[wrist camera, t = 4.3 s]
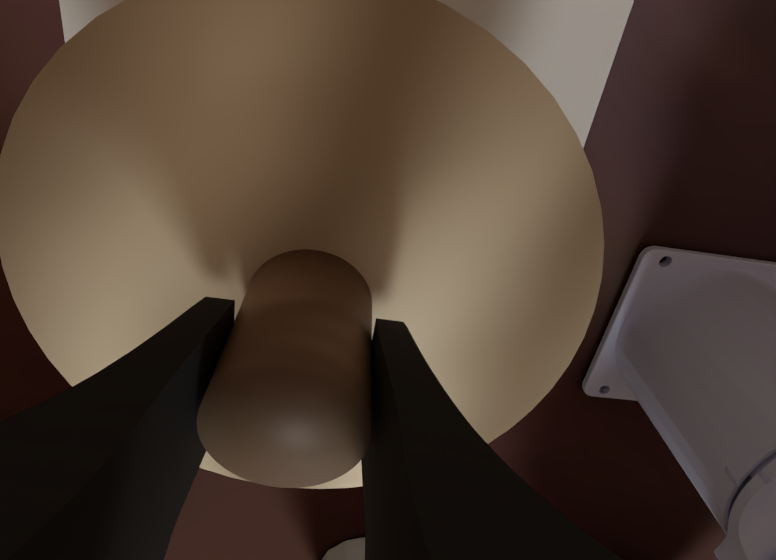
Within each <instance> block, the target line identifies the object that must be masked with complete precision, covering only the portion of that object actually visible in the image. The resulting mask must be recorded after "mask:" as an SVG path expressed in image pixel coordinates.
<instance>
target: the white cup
mask: <svg viewBox="0 0 776 560" xmlns="http://www.w3.org/2000/svg"><path fill="white" fill-rule="evenodd" d="M322 560H365V537H362V538H356V539H351V540H346V541H344V542H342V543H340V544H339V545H337V546H335V547H333V548H331V549H329V550H328V551H327V552H326V554H325V555H324V557H323V558H322Z"/></svg>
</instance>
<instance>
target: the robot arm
mask: <svg viewBox="0 0 776 560" xmlns="http://www.w3.org/2000/svg"><path fill="white" fill-rule="evenodd" d="M665 256H667V259H666V260H665V261H664V262H662V263H659V261H660V260H661V258H663V257H665ZM234 314H235V300H229V299H221V298H214V297H204V298H203V299H201V300H200V301H199V302H197V303H196V304H194V305H193V306H192V307H190V308H189V309H188V310H187V311H185V312H184V313H183V314H181V315H180V316H179V317H177V318H176V319H175V320H173V321H172V322H171V323H169V324H168V325H167V326H165V327H164V328H163V329H161V330H160V331H159V332H157V333H156V334H154V335H153V336H152V337H150V338H149V339H147V340H146V341H145V342H143V343H142V344H140V345H139V346H138V347H136V348H135V349H133V350H132V351H130V352H129V353H127V354H125V355H124V356H122V357H121V358H119V359H118V360H116V361H115V362H113V363H112V364H110V365H108V366H107V367H105V368H104V369H102V370H101V371H99V372H97V373H96V374H94V375H92V376H91V377H89V378H87V379H85V380H84V381H82V382H80V383H78V384H76V385H75V386H73V387H71V388H69V389H67V390H65V391H63V392H61V393H60V394H58V395H56V396H54V397H52V398H50V399H48V400H46V401H44V402H42V403H40V404H38V405H36V406H34V407H32V408H30V409H27V410H25V411H23V412H21V413H19V414H16V415H14V416H12V417H10V418H8V419H5V420H3V421H1V422H0V560H164V557H165V553H166V550H167V547H168V544H169V541H170V538H171V535H172V532H173V529H174V527H175V524H176V521H177V519H178V516H179V514H180V511H181V509H182V506H183V504H184V502H185V499H186V497H187V495H188V492H189V490H190V488H191V485H192V483H193V481H194V478H195V476H196V474H197V471H198V469H199V467H200V464H201V462H202V460H203V457H204V455H205V453H206V449H205V448H204V446H203V444H202V442H201V441H200V438H199V435H198V431H197V415H198V411H199V407H200V405H201V402H202V400H203V397H204V395H205V393H206V390H207V388H208V385H209V383H210V380H211V378H212V375H213V373H214V370H215V368H216V365H217V363H218V360H219V358H220V355H221V353H222V351H223V348H224V346H225V343H226V341H227V338H228V336H229V333H230V331H231V328H232V326H233V323H234ZM371 374H372V381H371V438H370V443H369V446H368V449H367V451H366V453H365V455H364V456H363V458H362V459H361V465H362V483H363V502H364V520H365V560H623V559H622V558H620V557H619V556H617V555H616V554H614V553H613V552H612V551H610V550H609V549H607V548H606V547H605V546H603V545H602V544H600V543H599V542H598V541H596V540H595V539H593V538H592V537H591V536H589V535H588V534H587V533H585V532H584V531H583V530H581V529H580V528H579V527H578V526H576V525H575V524H574V523H573V522H571V521H570V520H569V519H568V518H567V517H565V516H564V515H563V514H562V513H560V512H559V511H558V510H557V509H555V508H554V507H553V506H552V505H551V504H549V503H548V502H547V501H546V500H545V499H544V498H543V497H541V496H540V495H539V494H538V493H537V492H536V491H534V490H533V489H532V488H531V487H530V486H529V485H528V484H527V483H526V482H525V481H524V480H523V479H522V478H521V477H520V476H518V475H517V474H516V473H515V472H514V471H513V470H512V469H511V468H510V467H509V466H508V465H507V464H506V463H505V462H504V461H503V460H502V459H501V458H500V457H499V456H498V455H497V454H496V453H495V452H494V451H493V450H492V449H491V447H490V446H489V445H488V444H487V443H486V442H485V441H484V440H483V438H482V437H481V436H480V435H479V434H478V433H477V432H476V431H475V430H474V428H473V427H472V426H471V425H470V423H469V422H468V421H467V420H466V418H465V417H464V416H463V415H462V413H461V412H460V410H459V409H458V408H457V406H456V405H455V404H454V402H453V401H452V400H451V398H450V397H449V395H448V394H447V393H446V391H445V390H444V388H443V387H442V385H441V384H440V382H439V381H438V379H437V377H436V376H435V374H434V373H433V371H432V370H431V368H430V367H429V365H428V363H427V362H426V360H425V358H424V357H423V355H422V353H421V351H420V350H419V348H418V346H417V344H416V342H415V341H414V339H413V337H412V335H411V333H410V331H409V329H408V327H407V326H406V325H405V323H404V322H401V321H393V320H386V319H378V318H376V321H375V326H374V332H373V337H372V369H371ZM603 386H605V387H604V388H601V387H603ZM600 388H601V389H600ZM582 389H583V391H584V392H585V394H587V395H589V396H594V397H604V398H614V399H624V400H634V401H638V402H639V404H640V405H641V407H642V408H643V410H644V411H645V413H646V414H647V416H648V417H649V419H650V420H651V422H652V423H653V425H654V426H655V428H656V429H657V431H658V432H659V434H660V435H661V437H662V438H663V440H664V441H665V443H666V444H667V446H668V447H669V449H670V450H671V452H672V453H673V455H674V456H675V458H676V459H677V461H678V462H679V464H680V465H681V467H682V469H683V470H684V472H685V473H686V475H687V476H688V478H689V479H690V481H691V482H692V484H693V485H694V487H695V488H696V490H697V491H698V493H699V494H700V496H701V497H702V499H703V500H704V502H705V503H706V505H707V506H708V508H709V509H710V511H711V512H712V514H713V515H714V517H715V518H716V520H717V521H718V523H719V524H720V526H721V527H722V529H723V530H724V532H725V533H726V537H725V539H724V540H723V541H722V543H721V544H720V545H719V546H718V547H717V548H716V549H715V550H714V553H715V555H716V557H717V558H718V560H776V262H770V261H763V260H755V259H748V258H741V257H733V256H726V255H719V254H711V253H704V252H697V251H689V250H682V249H675V248H667V247H660V246H649V247H647V248H645V249H644V250H642V251H641V253H640V254H639V256H638V259H637V261H636V263H635V265H634V268H633V270H632V272H631V274H630V277H629V279H628V281H627V283H626V286H625V288H624V290H623V292H622V295H621V297H620V299H619V301H618V304H617V306H616V308H615V310H614V313H613V315H612V317H611V319H610V322H609V324H608V326H607V328H606V331H605V333H604V335H603V337H602V340H601V342H600V344H599V346H598V349H597V351H596V353H595V356H594V358H593V360H592V362H591V365H590V367H589V369H588V371H587V374H586V376H585V378H584V380H583V383H582Z"/></svg>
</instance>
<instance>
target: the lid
mask: <svg viewBox="0 0 776 560" xmlns="http://www.w3.org/2000/svg"><path fill="white" fill-rule="evenodd" d="M603 255H604V234H603V222H602V210H601V205H600V201H599V196H598V192H597V188H596V184H595V180H594V176H593V172H592V169H591V167H590V164H589V162H588V160H587V157H586V155H585V153H584V150H583V148H582V145H581V143H580V141H579V138H578V136H577V134H576V132H575V130H574V129H573V127H572V126H571V124H570V122H569V121H568V119H567V117H566V116H565V114H564V113H563V111H562V109H561V108H560V106H559V104H558V103H557V101H556V100H555V98H554V97H553V96H552V94H551V93H550V92H549V91H548V90H547V89H546V87H545V86H544V85H543V84H542V83H541V81H540V80H539V79H538V78H537V77H536V76H535V74H534V73H533V72H532V71H531V70H530V69H529V67H528V66H527V65H526V64H525V63H524V62H523V61H522V60H521V59H520V58H518V57H517V56H516V55H515V54H514V53H513V52H511V51H510V50H509V49H508V48H507V47H506V46H505V45H503V44H502V43H501V42H500V41H499V40H498V39H496V38H495V37H494V36H493V35H492V34H491V33H490V32H488V31H487V30H485V29H484V28H482V27H480V26H479V25H477V24H476V23H474V22H473V21H471V20H469V19H468V18H466V17H465V16H463V15H461V14H460V13H458V12H457V11H455V10H454V9H452V8H450V7H449V6H447V5H446V4H443V3H441V2H439V1H437V0H124V1H123V2H121V3H119V4H118V5H116V6H114V7H112V8H111V9H109V10H107V11H106V12H104V13H102V14H100V15H99V16H97V17H96V18H94V19H93V20H92V21H91V22H90V23H88V24H87V25H86V26H85V27H84V28H83V29H81V30H80V31H79V32H78V33H77V34H75V35H74V36H73V37H72V38H71V39H70V40H68V41H67V42H66V43H65V44H64V45H62V46H61V47H60V49H59V50H58V51H57V52H56V53H55V55H54V56H53V57H52V58H51V59H50V61H49V62H48V63H47V64H46V66H45V67H44V68H43V69H42V70H41V72H40V73H39V74H38V75H37V77H36V78H35V79H34V80H33V82H32V84H31V85H30V87H29V89H28V91H27V93H26V94H25V96H24V98H23V100H22V102H21V103H20V105H19V107H18V109H17V111H16V113H15V114H14V116H13V118H12V121H11V124H10V127H9V130H8V133H7V136H6V139H5V142H4V145H3V148H2V151H1V154H0V257H1V263H2V267H3V270H4V273H5V276H6V279H7V282H8V285H9V288H10V291H11V294H12V297H13V299H14V301H15V303H16V305H17V307H18V309H19V311H20V313H21V315H22V317H23V319H24V321H25V323H26V325H27V327H28V329H29V331H30V333H31V334H32V336H33V337H34V339H35V340H36V342H37V343H38V345H39V346H40V348H41V349H42V351H43V352H44V354H45V355H46V356H47V358H48V359H49V360H50V362H51V363H52V364H53V365H54V366H55V367H56V369H57V370H58V371H59V372H60V373H61V375H62V376H63V377H64V378H65V379H66V380H67V382H68V383H69V384H70V385H71V386H72V387H73V386H75V385H76V384H78V383H80V382H82V381H84V380H85V379H87V378H89V377H91V376H92V375H94V374H96V373H97V372H99V371H101V370H102V369H104V368H105V367H107V366H108V365H110V364H112V363H113V362H115V361H116V360H118V359H119V358H121V357H122V356H124V355H125V354H127V353H129V352H130V351H132V350H133V349H135V348H136V347H138V346H139V345H140V344H142V343H143V342H145V341H146V340H147V339H149V338H150V337H152V336H153V335H154V334H156V333H157V332H159V331H160V330H161V329H163V328H164V327H165V326H167V325H168V324H169V323H171V322H172V321H173V320H175V319H176V318H177V317H179V316H180V315H181V314H183V313H184V312H185V311H187V310H188V309H189V308H190V307H192V306H193V305H194V304H196V303H197V302H199V301H200V300H201V299H203V298H204V297H214V298H221V299H229V300H235V314H234V323H233V326H232V328H231V331H230V333H229V336H228V338H227V341H226V343H225V346H224V348H223V351H222V353H221V355H220V358H219V360H218V363H217V365H216V368H215V370H214V373H213V375H212V378H211V380H210V383H209V385H208V388H207V390H206V393H205V395H204V397H203V400H202V402H201V405H200V407H199V411H198V415H197V431H198V435H199V438H200V441H201V442H202V444H203V446H204V448H205V449H206V453H205V455H204V457H203V460H202V462H201V464H200V468H202V469H205V470H209V471H212V472H215V473H219V474H222V475H225V476H228V477H232V478H236V479H241V480H246V481H250V482H255V483H258V484H262V485H266V486H272V487H280V488H309V489H333V488H353V487H361V486H363V483H362V465H361V459H362V458H363V456H364V455H365V453H366V451H367V449H368V446H369V443H370V438H371V381H372V374H371V369H372V337H373V332H374V326H375V321H376V318H378V319H386V320H393V321H401V322H404V323H405V325H406V326H407V327H408V329H409V331H410V333H411V335H412V337H413V339H414V341H415V342H416V344H417V346H418V348H419V350H420V351H421V353H422V355H423V357H424V358H425V360H426V362H427V363H428V365H429V367H430V368H431V370H432V371H433V373H434V374H435V376H436V377H437V379H438V381H439V382H440V384H441V385H442V387H443V388H444V390H445V391H446V393H447V394H448V395H449V397H450V398H451V400H452V401H453V402H454V404H455V405H456V406H457V408H458V409H459V410H460V412H461V413H462V415H463V416H464V417H465V418H466V420H467V421H468V422H469V423H470V425H471V426H472V427H473V428H474V430H475V431H476V432H477V433H478V434H479V435H480V436H481V437H482V438H483V440H484V441H485V442H486V443H487V444H488V443H490V442H491V441H493V440H494V439H496V438H497V437H499V436H500V435H502V434H503V433H505V432H506V431H508V430H509V429H510V428H511V427H513V426H514V425H515V424H516V423H517V422H519V421H520V420H521V419H522V418H523V417H525V416H526V415H527V414H528V413H529V412H530V411H532V410H533V408H534V407H535V406H536V405H537V404H538V403H539V402H540V401H541V400H542V399H543V398H544V397H545V396H546V395H547V394H548V392H549V391H550V390H551V389H552V388H553V387H554V385H555V384H556V382H557V381H558V380H559V378H560V377H561V376H562V374H563V373H564V371H565V370H566V369H567V367H568V366H569V364H570V363H571V361H572V359H573V357H574V355H575V353H576V352H577V350H578V348H579V346H580V344H581V342H582V341H583V339H584V336H585V334H586V331H587V328H588V326H589V323H590V321H591V318H592V315H593V313H594V310H595V306H596V302H597V297H598V293H599V288H600V284H601V279H602V269H603Z"/></svg>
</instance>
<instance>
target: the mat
mask: <svg viewBox="0 0 776 560" xmlns="http://www.w3.org/2000/svg"><path fill="white" fill-rule="evenodd" d="M123 1H124V0H59V2H60V10H61V17H62V24H63V31H64V38H65V43H66V42H67V41H68V40H70V39H71V38H72V37H73V36H74V35H75V34H77V33H78V32H79V31H80V30H81V29H83V28H84V27H85V26H86V25H87V24H88V23H90V22H91V21H92V20H93V19H94V18H96V17H97V16H99V15H100V14H102V13H104V12H106V11H107V10H109V9H111V8H112V7H114V6H116V5H118V4H119V3H121V2H123ZM437 1H439V2H441V3H443V4H446V5H447V6H449V7H450V8H452V9H454V10H455V11H457V12H458V13H460V14H461V15H463V16H465V17H466V18H468V19H469V20H471V21H473V22H474V23H476V24H477V25H479V26H480V27H482V28H484V29H485V30H487V31H488V32H490V33H491V34H492V35H493V36H494V37H495V38H496V39H498V40H499V41H500V42H501V43H502V44H503V45H505V46H506V47H507V48H508V49H509V50H510V51H511V52H513V53H514V54H515V55H516V56H517V57H518V58H520V59H521V60H522V61H523V62H524V63H525V64H526V65H527V66H528V67H529V69H530V70H531V71H532V72H533V73H534V74H535V76H536V77H537V78H538V79H539V80H540V81H541V83H542V84H543V85H544V86H545V87H546V89H547V90H548V91H549V92H550V93H551V94H552V96H553V97H554V98H555V100H556V101H557V103H558V104H559V106H560V108H561V109H562V111H563V113H564V114H565V116H566V117H567V119H568V121H569V122H570V124H571V126H572V127H573V129H574V130H575V132H576V134H577V136H578V138H579V141H580V143H581V145H582V148H583V147H584V144H585V141H586V138H587V135H588V133H589V130H590V127H591V124H592V121H593V118H594V115H595V112H596V109H597V106H598V104H599V101H600V98H601V95H602V92H603V89H604V86H605V83H606V80H607V77H608V74H609V72H610V69H611V66H612V63H613V60H614V57H615V54H616V51H617V48H618V45H619V43H620V40H621V37H622V34H623V31H624V28H625V25H626V22H627V19H628V16H629V13H630V11H631V8H632V5H633V2H634V0H437Z"/></svg>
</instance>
